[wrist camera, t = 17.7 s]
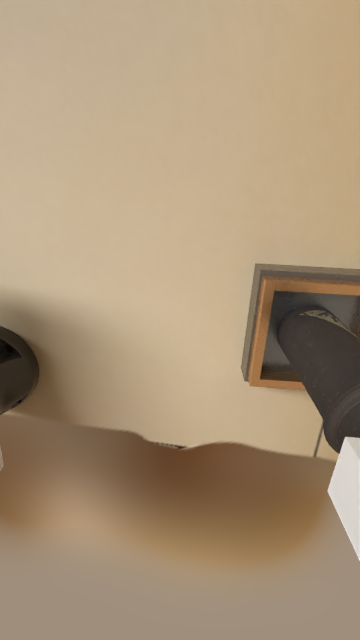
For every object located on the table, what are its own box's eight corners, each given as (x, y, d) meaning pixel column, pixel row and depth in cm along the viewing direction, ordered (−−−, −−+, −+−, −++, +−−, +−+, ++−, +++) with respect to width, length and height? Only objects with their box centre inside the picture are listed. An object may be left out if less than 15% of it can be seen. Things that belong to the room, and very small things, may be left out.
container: (344, 351, 45) (446, 460, 27) (280, 366, 47) (337, 480, 28) (336, 295, 42) (445, 374, 24) (269, 313, 44) (323, 401, 25)
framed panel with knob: (241, 367, 52) (247, 390, 46) (255, 263, 45) (264, 274, 39) (391, 377, 51) (417, 402, 45) (426, 273, 45) (462, 285, 39)
